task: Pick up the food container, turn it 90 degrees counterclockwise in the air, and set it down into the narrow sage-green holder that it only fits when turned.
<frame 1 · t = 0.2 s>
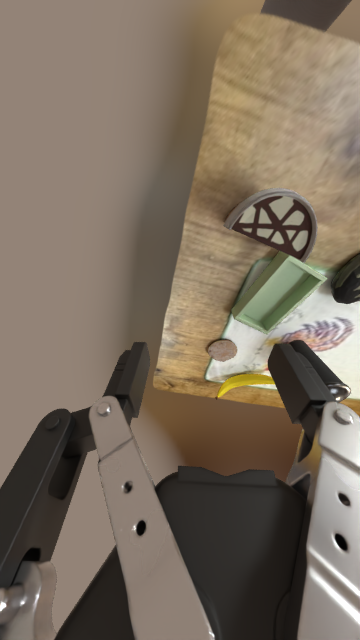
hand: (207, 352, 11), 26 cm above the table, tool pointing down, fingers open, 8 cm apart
flatbread: (222, 349, 48), on the table
holder: (270, 292, 37), on the table
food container: (257, 213, 29), on the table
banana: (243, 374, 54), on the table
drinking cup: (294, 346, 46), on the table
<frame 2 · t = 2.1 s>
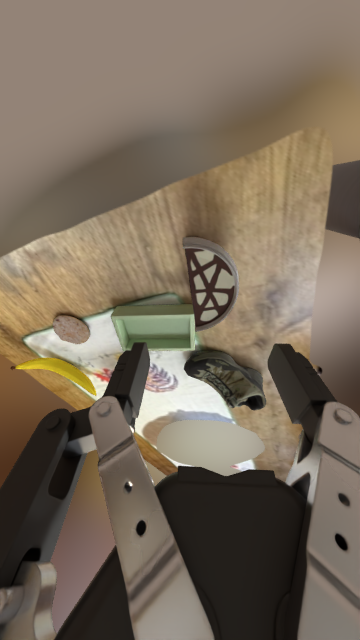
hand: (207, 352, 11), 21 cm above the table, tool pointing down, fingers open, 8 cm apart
flatbread: (73, 328, 38), on the table
hiking shoe: (224, 366, 44), on the table
holder: (157, 323, 36), on the table
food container: (208, 264, 29), on the table
banana: (70, 363, 46), on the table
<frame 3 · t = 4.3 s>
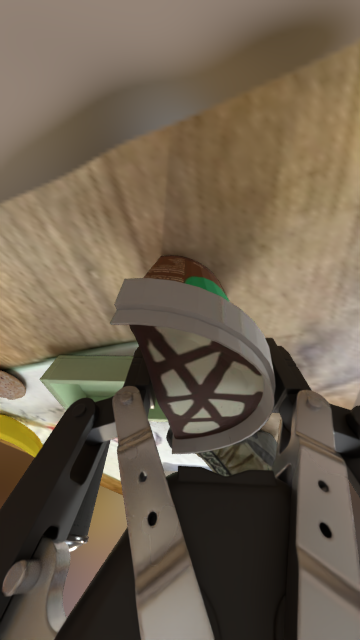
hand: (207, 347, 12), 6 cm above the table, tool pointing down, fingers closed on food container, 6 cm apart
flatbread: (1, 379, 26), on the table
hiking shoe: (224, 426, 31), on the table
holder: (126, 378, 24), on the table
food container: (203, 301, 16), on the table, touching gripper
banana: (12, 415, 33), on the table
drinking cup: (100, 428, 35), on the table
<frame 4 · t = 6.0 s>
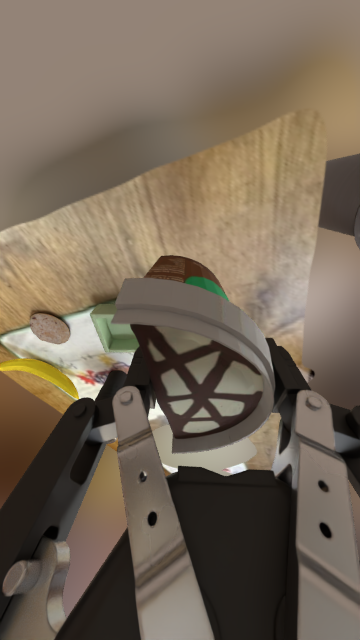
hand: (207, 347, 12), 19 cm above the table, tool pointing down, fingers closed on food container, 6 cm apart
flatbread: (52, 327, 36), on the table
holder: (143, 323, 34), on the table
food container: (203, 301, 16), point 13 cm above the table, touching gripper
banana: (51, 365, 43), on the table
drinking cup: (119, 375, 45), on the table
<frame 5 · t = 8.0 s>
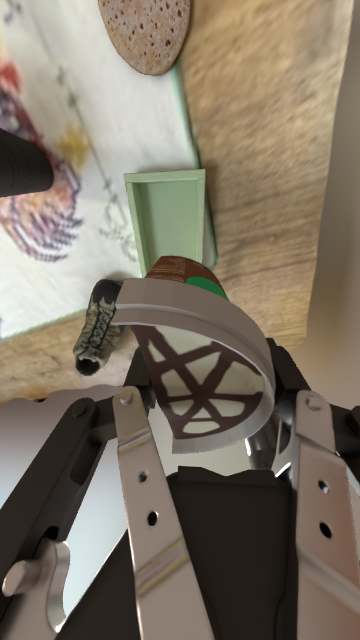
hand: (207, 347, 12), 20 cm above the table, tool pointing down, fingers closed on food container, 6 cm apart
flatbread: (145, 5, 15), on the table
hiking shoe: (109, 319, 36), on the table
holder: (171, 239, 26), on the table
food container: (203, 301, 16), point 14 cm above the table, touching gripper
drinking cup: (34, 167, 22), on the table
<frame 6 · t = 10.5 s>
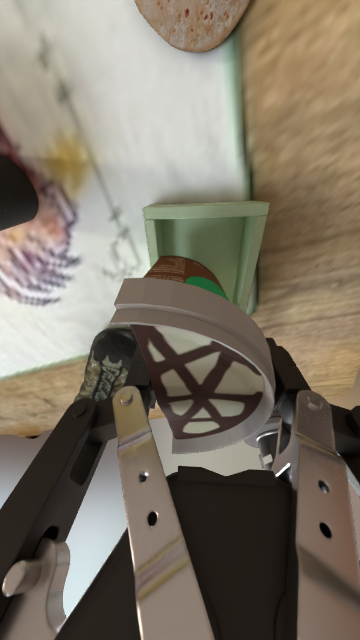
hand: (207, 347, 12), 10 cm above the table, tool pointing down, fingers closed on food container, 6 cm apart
hiking shoe: (113, 365, 30), on the table
holder: (199, 282, 20), on the table
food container: (203, 301, 16), point 4 cm above the table, touching gripper
drinking cup: (10, 190, 16), on the table
when the fingers open (6 cm above the table, at t = 12.2 s): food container stays where it is, resting on holder.
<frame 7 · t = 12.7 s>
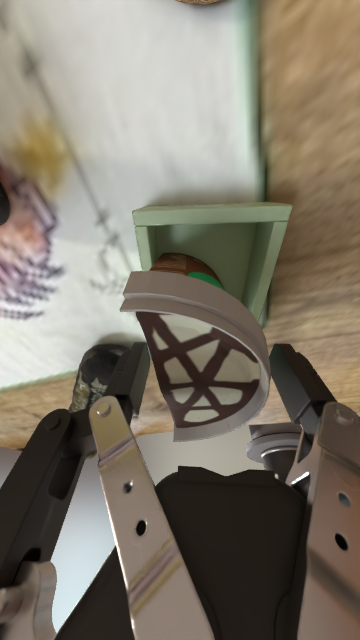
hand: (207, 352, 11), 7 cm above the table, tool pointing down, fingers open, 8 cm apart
hiking shoe: (107, 381, 27), on the table
holder: (201, 296, 17), on the table
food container: (203, 297, 17), resting on holder
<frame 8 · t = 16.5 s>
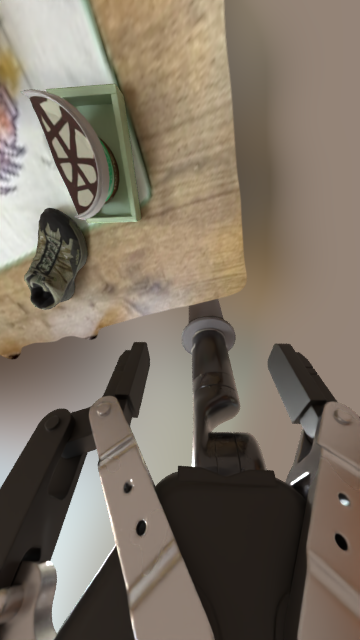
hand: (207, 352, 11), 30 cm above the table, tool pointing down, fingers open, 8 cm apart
hiking shoe: (65, 259, 39), on the table
holder: (107, 168, 29), on the table
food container: (107, 168, 29), resting on holder
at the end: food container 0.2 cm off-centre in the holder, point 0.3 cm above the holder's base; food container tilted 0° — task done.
